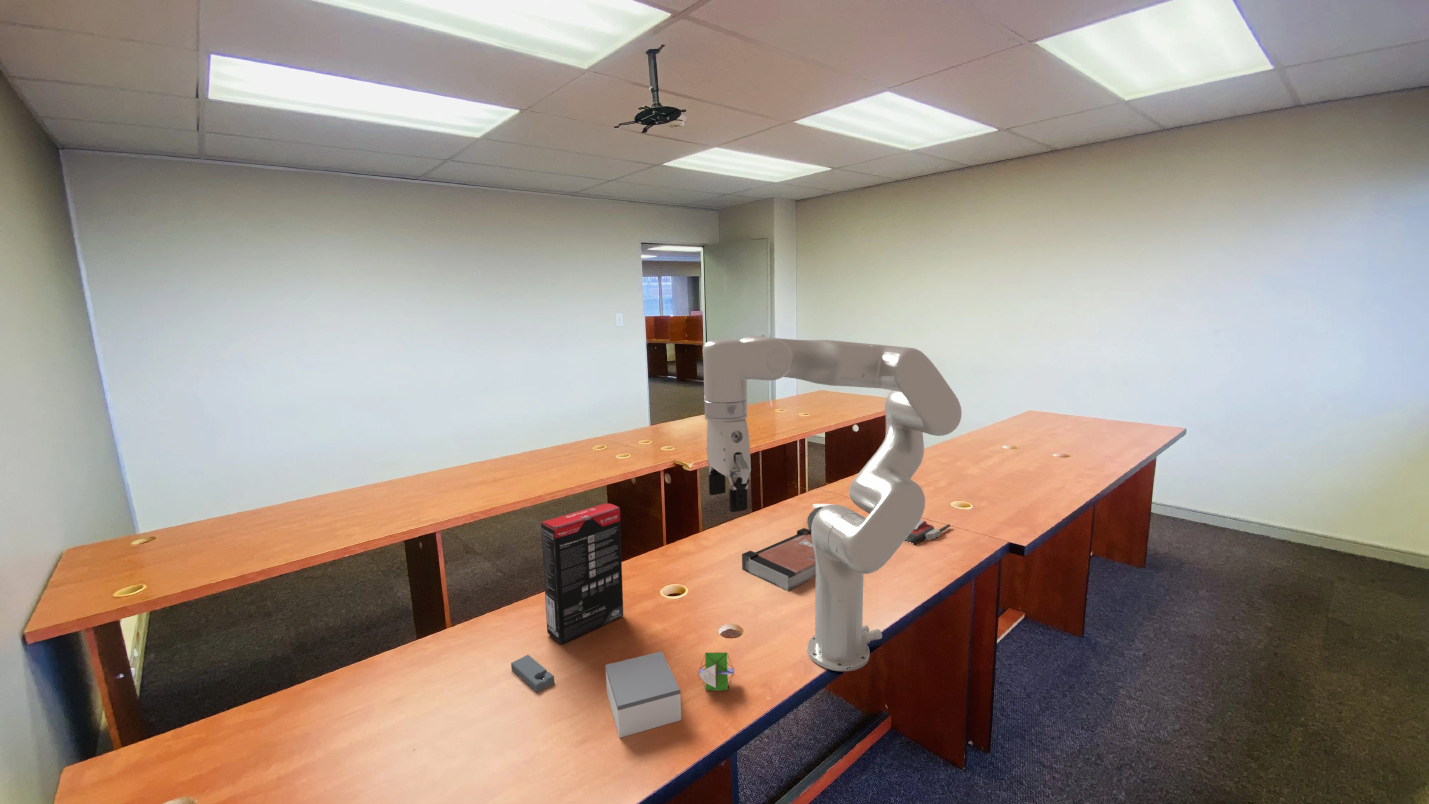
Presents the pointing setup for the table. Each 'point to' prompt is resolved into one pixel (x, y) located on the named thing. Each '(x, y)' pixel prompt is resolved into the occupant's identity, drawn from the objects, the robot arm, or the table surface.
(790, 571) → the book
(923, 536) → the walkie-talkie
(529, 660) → the bracket
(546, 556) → the graphics card box
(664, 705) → the grey stand
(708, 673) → the geometric puzzle
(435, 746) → the table surface
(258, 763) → the table surface
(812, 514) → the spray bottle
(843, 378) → the robot arm
